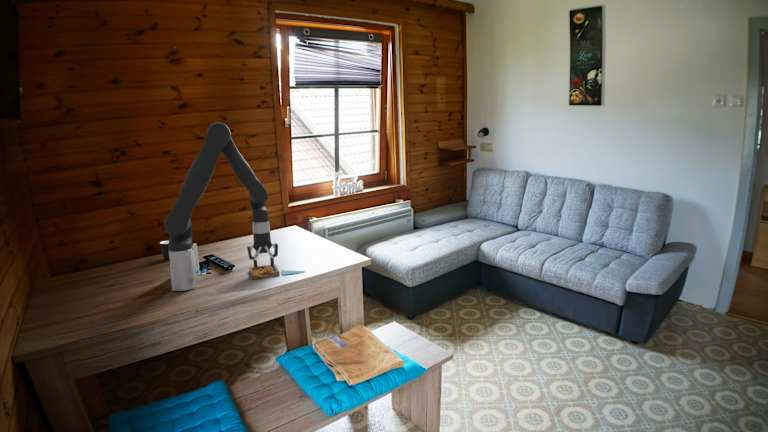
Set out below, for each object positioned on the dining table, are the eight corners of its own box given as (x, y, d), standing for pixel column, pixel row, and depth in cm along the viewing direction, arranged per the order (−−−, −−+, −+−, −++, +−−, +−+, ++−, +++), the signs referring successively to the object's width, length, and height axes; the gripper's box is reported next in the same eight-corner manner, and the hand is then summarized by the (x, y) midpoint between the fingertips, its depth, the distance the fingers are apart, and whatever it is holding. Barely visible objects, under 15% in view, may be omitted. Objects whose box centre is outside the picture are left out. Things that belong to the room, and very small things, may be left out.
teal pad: (283, 275, 198) (283, 274, 198) (279, 270, 208) (279, 269, 207) (305, 272, 202) (305, 271, 202) (300, 267, 211) (300, 266, 211)
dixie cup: (179, 262, 229) (177, 241, 227) (162, 264, 225) (160, 244, 223) (176, 259, 235) (174, 239, 234) (160, 261, 231) (158, 241, 229)
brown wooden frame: (252, 279, 194) (251, 274, 194) (249, 271, 207) (249, 267, 207) (279, 275, 198) (279, 271, 198) (275, 268, 211) (275, 264, 211)
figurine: (279, 270, 201) (266, 268, 190) (272, 282, 201) (258, 280, 189) (265, 261, 204) (252, 258, 192) (258, 273, 203) (244, 270, 192)
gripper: (245, 234, 194) (248, 270, 196) (278, 231, 199) (281, 266, 201) (244, 231, 201) (247, 266, 203) (276, 228, 206) (278, 263, 208)
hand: (264, 266), depth 202 cm, fingers open, 6 cm apart
